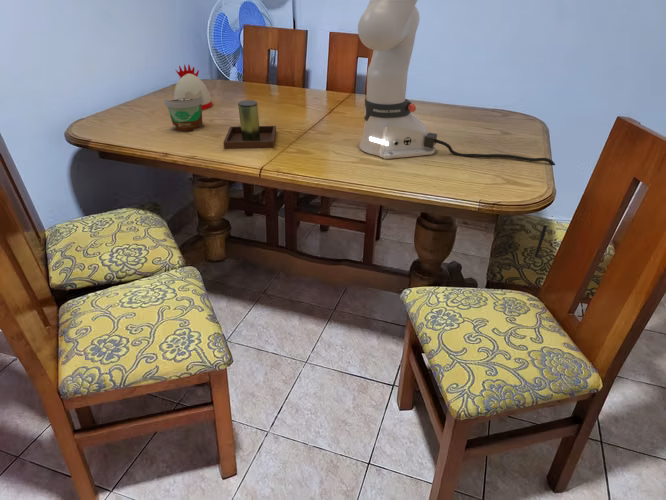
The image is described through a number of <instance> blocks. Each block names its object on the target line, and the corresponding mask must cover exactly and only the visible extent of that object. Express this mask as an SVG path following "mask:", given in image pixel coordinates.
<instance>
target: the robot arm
mask: <svg viewBox="0 0 666 500" xmlns="http://www.w3.org/2000/svg"><path fill="white" fill-rule="evenodd" d="M417 2H418V0H369V1H368V4H367V6H366V9H365V10H364V11H363V13H362V15H361V16H360V18H359V20H358V24H357V34H358V38H359V40H360V42H361V43H362V45H364V47H366V48H368V49H369V50H373V51H372V55H371V60H370V62H369V65H368V67H367V72H366V97H365V99H364V104H363V119H364V126H363V131H362V136H361V138H360V142H359V145H358V148H359V149H360V150H361V151H363V153H366V154H370V155H374V156H378V157H380V158H382V159H386V160H389V159H390V160H391V159H399V158H400V159H401V158H410V157H419V156H421V157H422V156H429V155H430V156H431V155H434V154H435V153H436V144H439V145H442V146H445V147H446V148H447V149H448V151H449V153H451V154H452V155H454V156H458V157H465V158H505V159H513V160H519V161H526V162H547V163H548V164H549V165H551V166H556V163H555V161H553V160H552V159H550V158H548V157H528V156H521V155H515V154H514V155H513V154H505V153H504V154H503V153H461V152H458V151H455V150H453V147H452V146H451V145H450V144H449V143H447V142H446V141H443V140H440V139H438V133H434V132H429V131H428V128H427V126H426V124H425V123H424V122H423V121H421V120H420V118H418V117H417V116H416V115H414V114H413V113H415V112H416V110H417V107H416V105H415V103H413V102H412V101H410V100H409V99H408V98H406V97H407V96H406V95H407V86H408V85H407V84H408V75H409V67H410V62H411V58H412V54H413V50H414V46H415V40H416V34H417V31H418V29H419V25H420V19H421V18H420V17H421V16H420V12H419V10H418V8H417V6H416V5H417ZM547 228H548V225H547V224H546V225H545V224H544V225H543V227H542V229H541V233H540V238H539V240H538V244H537V247H536V250H535V254H534V256H535V257H537V258H538V257H539V254H540V251H541V248H542V244H543V241H544V238H545V236H546V235H545V234H546V231H547Z"/></svg>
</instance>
